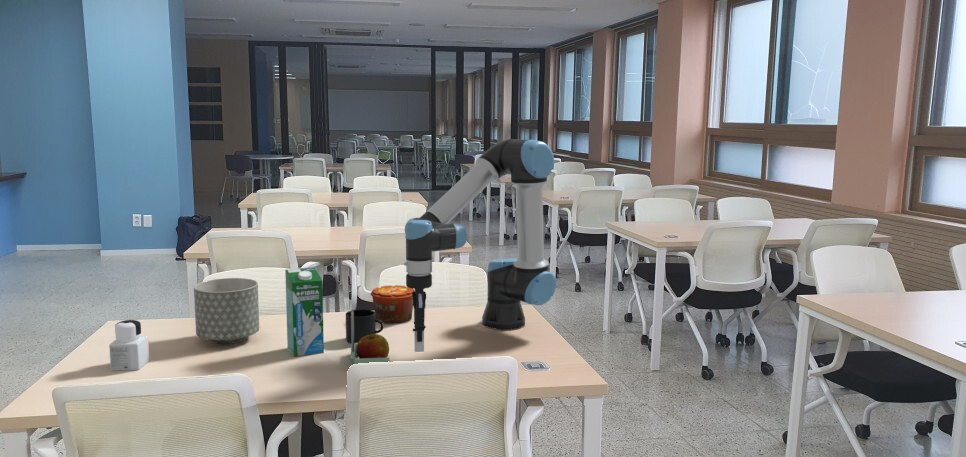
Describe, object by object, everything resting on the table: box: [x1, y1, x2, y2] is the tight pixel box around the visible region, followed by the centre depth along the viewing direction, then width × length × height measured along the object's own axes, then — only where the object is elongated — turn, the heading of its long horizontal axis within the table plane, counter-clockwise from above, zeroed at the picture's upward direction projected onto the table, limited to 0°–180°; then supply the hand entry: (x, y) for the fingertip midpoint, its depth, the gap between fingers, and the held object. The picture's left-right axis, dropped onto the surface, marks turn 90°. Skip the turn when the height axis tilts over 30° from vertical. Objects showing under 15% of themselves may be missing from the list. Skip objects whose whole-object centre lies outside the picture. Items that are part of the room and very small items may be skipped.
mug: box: [345, 308, 384, 344], centre depth 228 cm, size 9×12×9 cm
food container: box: [370, 284, 415, 325], centre depth 252 cm, size 16×16×11 cm
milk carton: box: [284, 266, 325, 357], centre depth 216 cm, size 9×9×25 cm
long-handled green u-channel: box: [349, 310, 391, 367], centre depth 207 cm, size 11×15×16 cm
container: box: [108, 319, 150, 371], centre depth 202 cm, size 8×8×13 cm
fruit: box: [356, 333, 390, 359], centre depth 208 cm, size 10×9×8 cm
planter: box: [193, 277, 260, 345], centre depth 225 cm, size 19×19×18 cm
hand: (419, 350), depth 211 cm, fingers closed
